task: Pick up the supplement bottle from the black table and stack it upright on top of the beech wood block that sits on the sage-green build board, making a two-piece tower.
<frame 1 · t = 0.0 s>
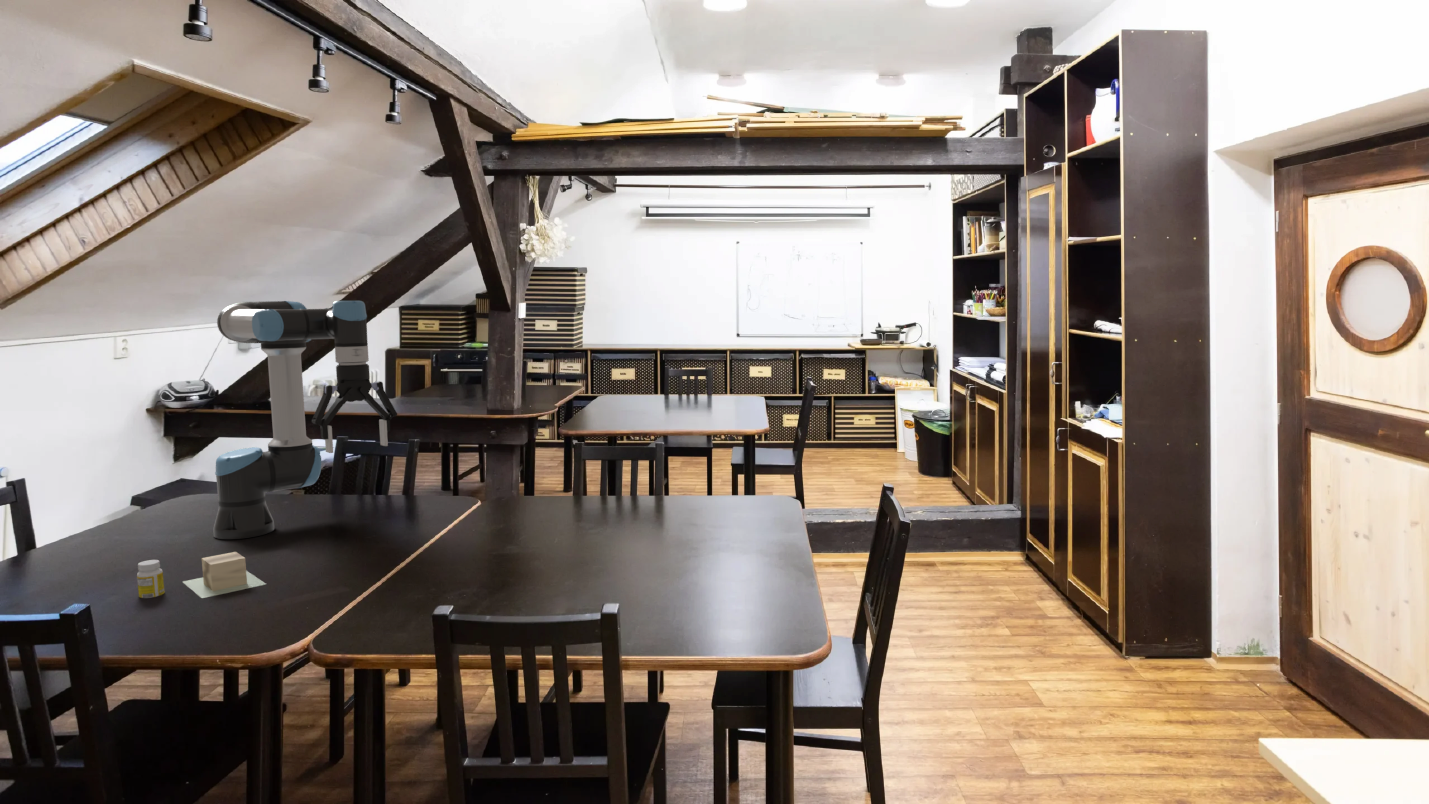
hand: (357, 448, 216), 28 cm above the table, fingers open, 13 cm apart
beech block: (225, 583, 197), point 1 cm above the table, touching build board
build board: (224, 587, 198), on the table
supplement bottle: (152, 600, 190), on the table
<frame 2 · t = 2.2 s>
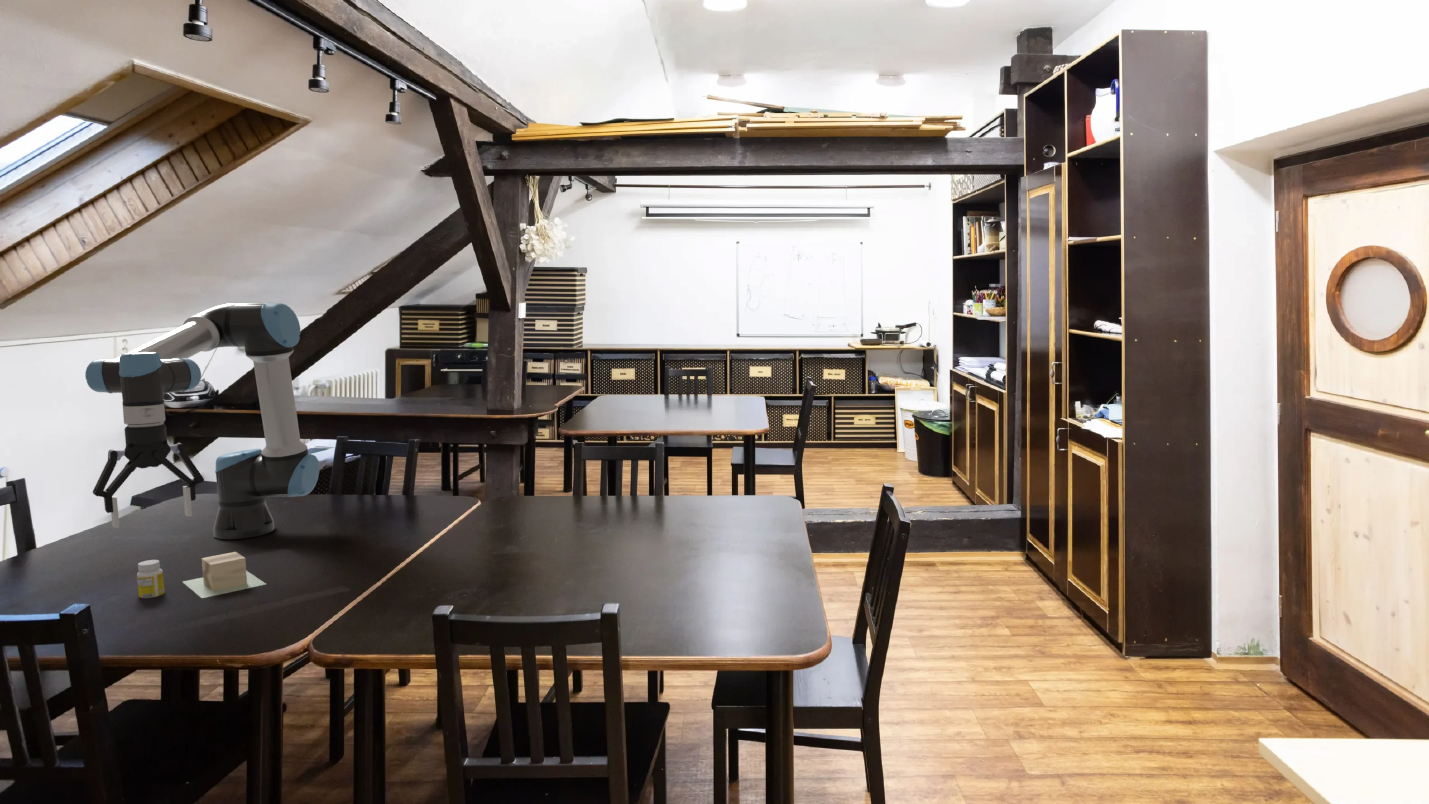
hand: (153, 521, 189), 17 cm above the table, fingers open, 13 cm apart
nothing on the table moved.
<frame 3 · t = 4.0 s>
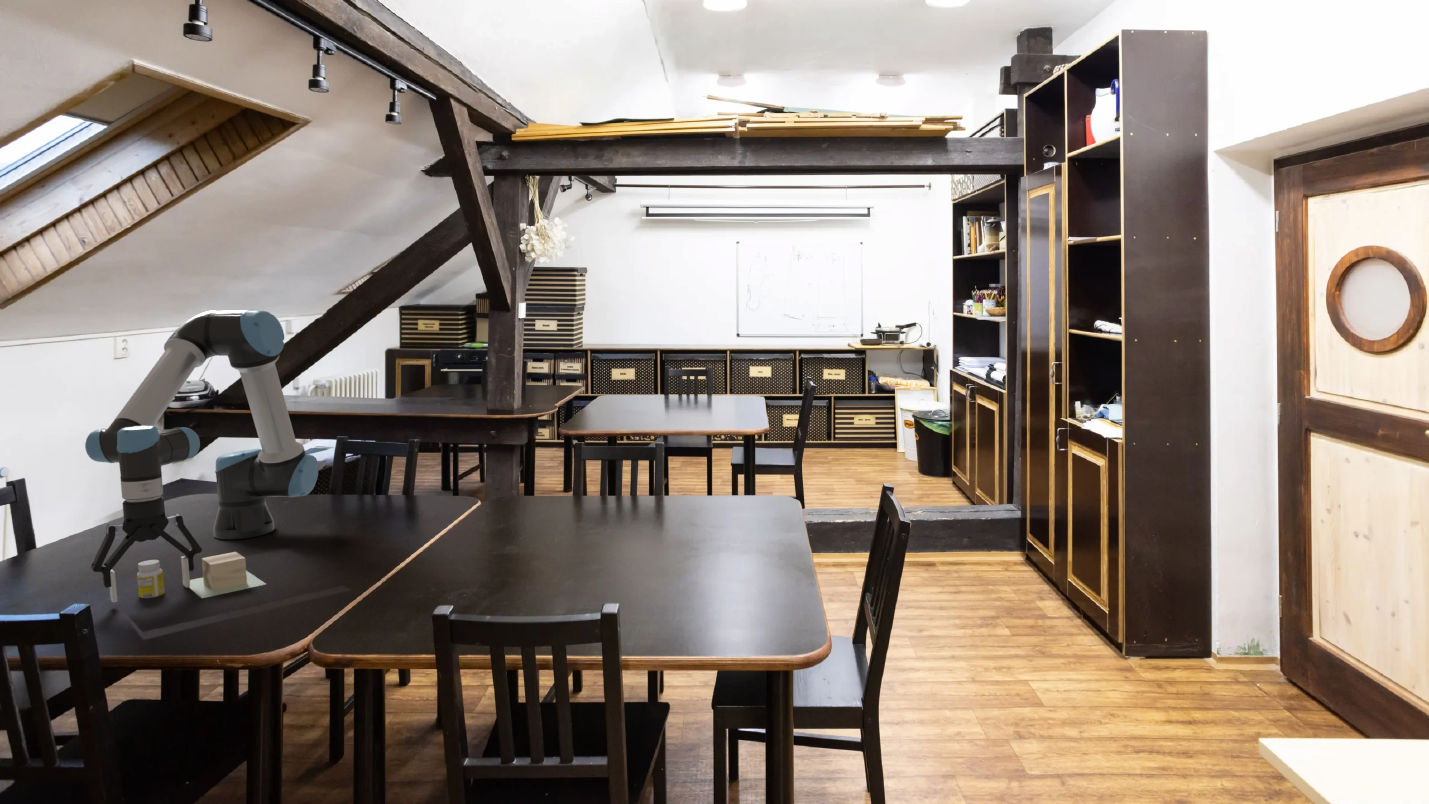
hand: (151, 593, 190), 1 cm above the table, fingers open, 13 cm apart
nothing on the table moved.
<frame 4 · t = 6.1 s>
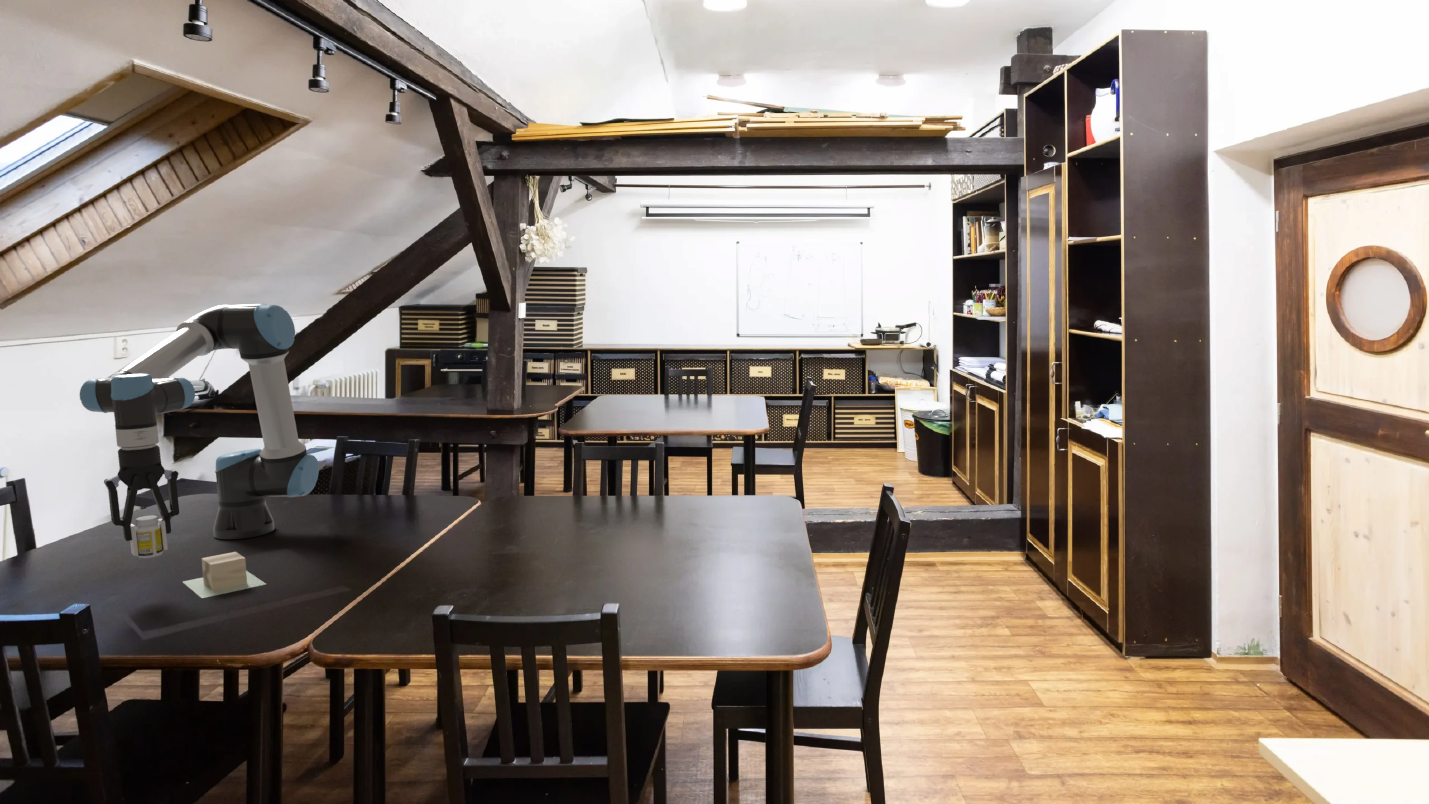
hand: (149, 551, 190), 11 cm above the table, fingers closed on supplement bottle, 5 cm apart
supplement bottle: (150, 556, 190), point 10 cm above the table, touching gripper
everything else where it was.
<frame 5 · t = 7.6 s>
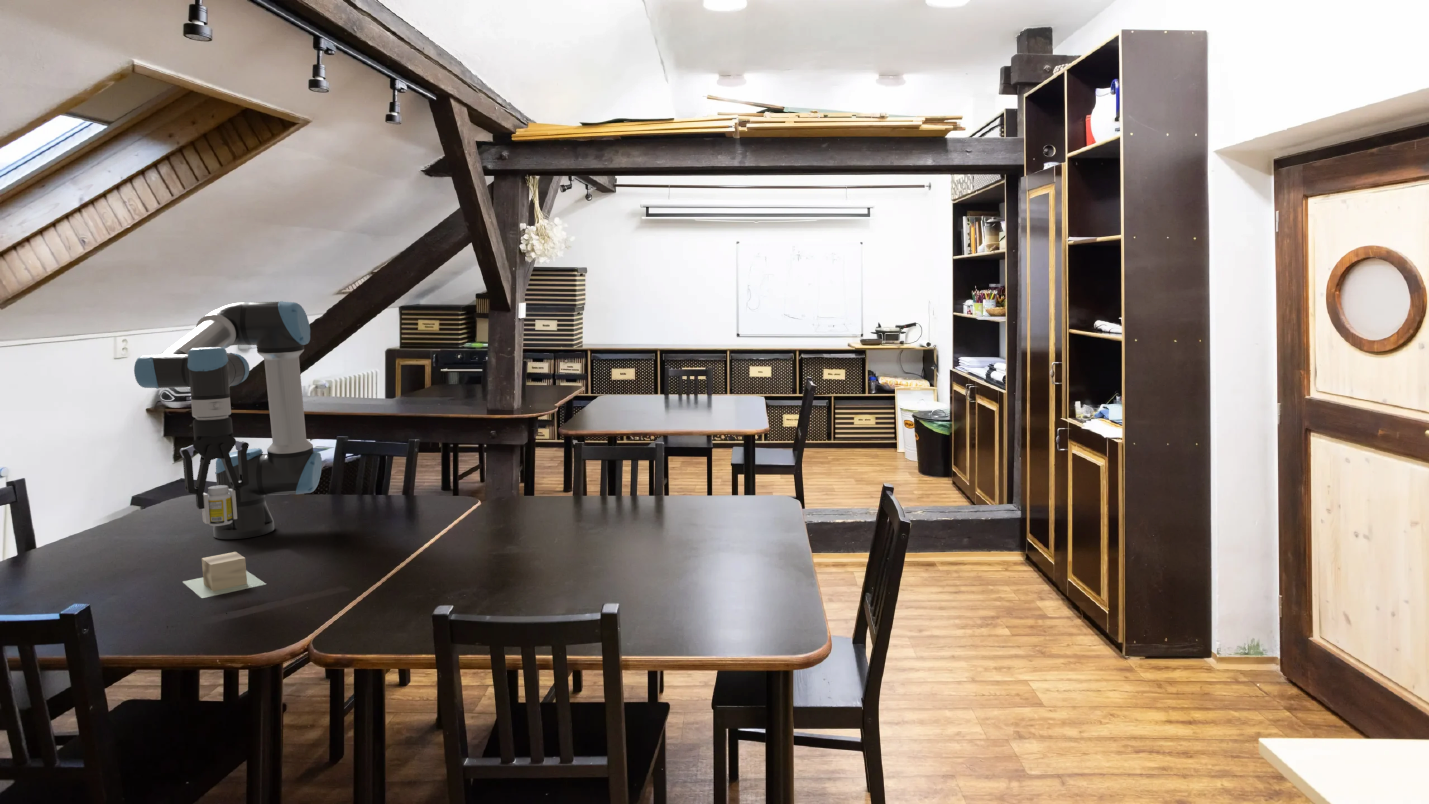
hand: (220, 520, 195), 16 cm above the table, fingers closed on supplement bottle, 5 cm apart
supplement bottle: (220, 524, 195), point 15 cm above the table, touching gripper
everything else where it was.
when the fingers open (8 cm above the table, at t = 9.5 s): supplement bottle stays where it is, resting on beech block.
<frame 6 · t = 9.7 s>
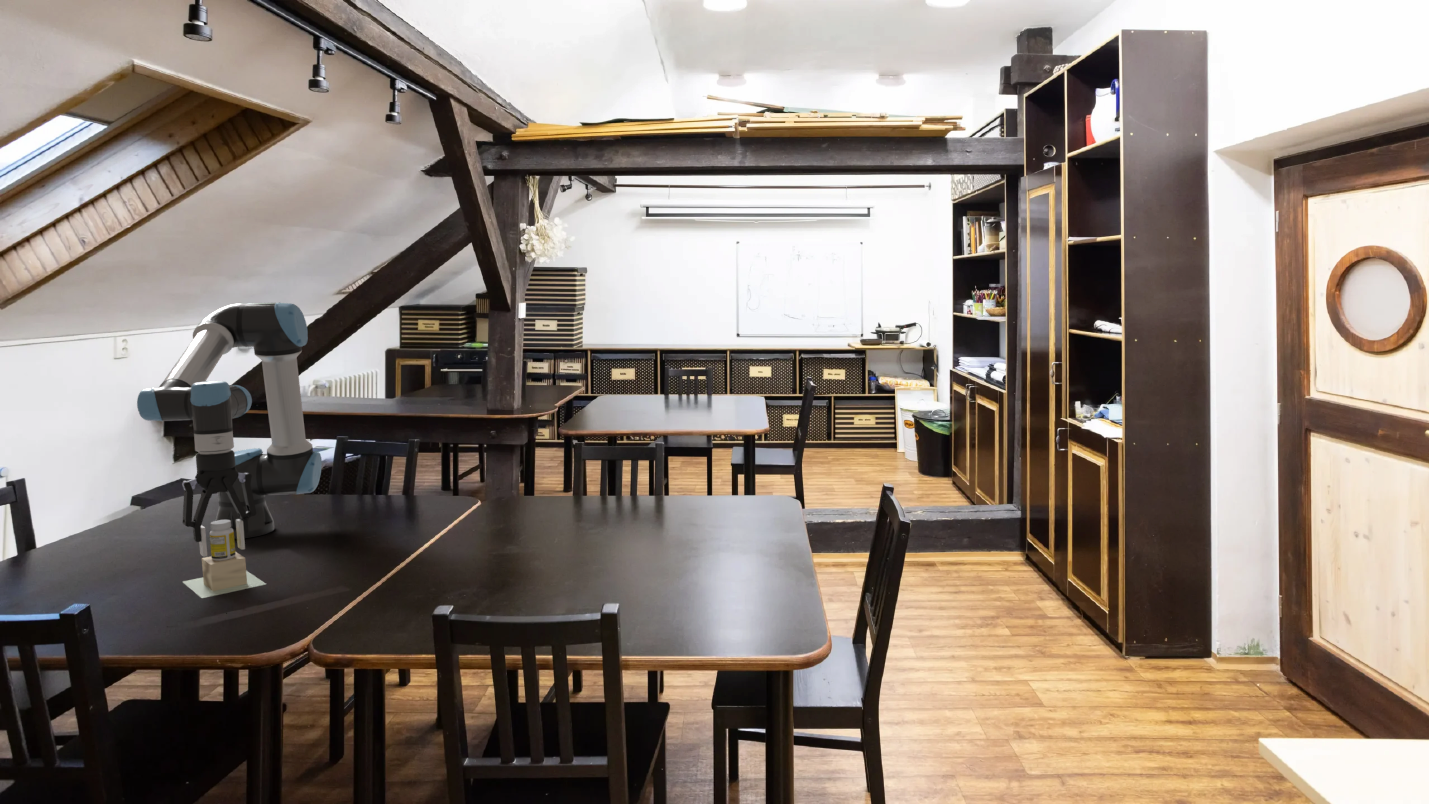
hand: (222, 551, 196), 9 cm above the table, fingers open, 7 cm apart
beech block: (225, 583, 197), point 1 cm above the table, touching supplement bottle, build board
supplement bottle: (223, 559, 196), point 7 cm above the table, touching beech block
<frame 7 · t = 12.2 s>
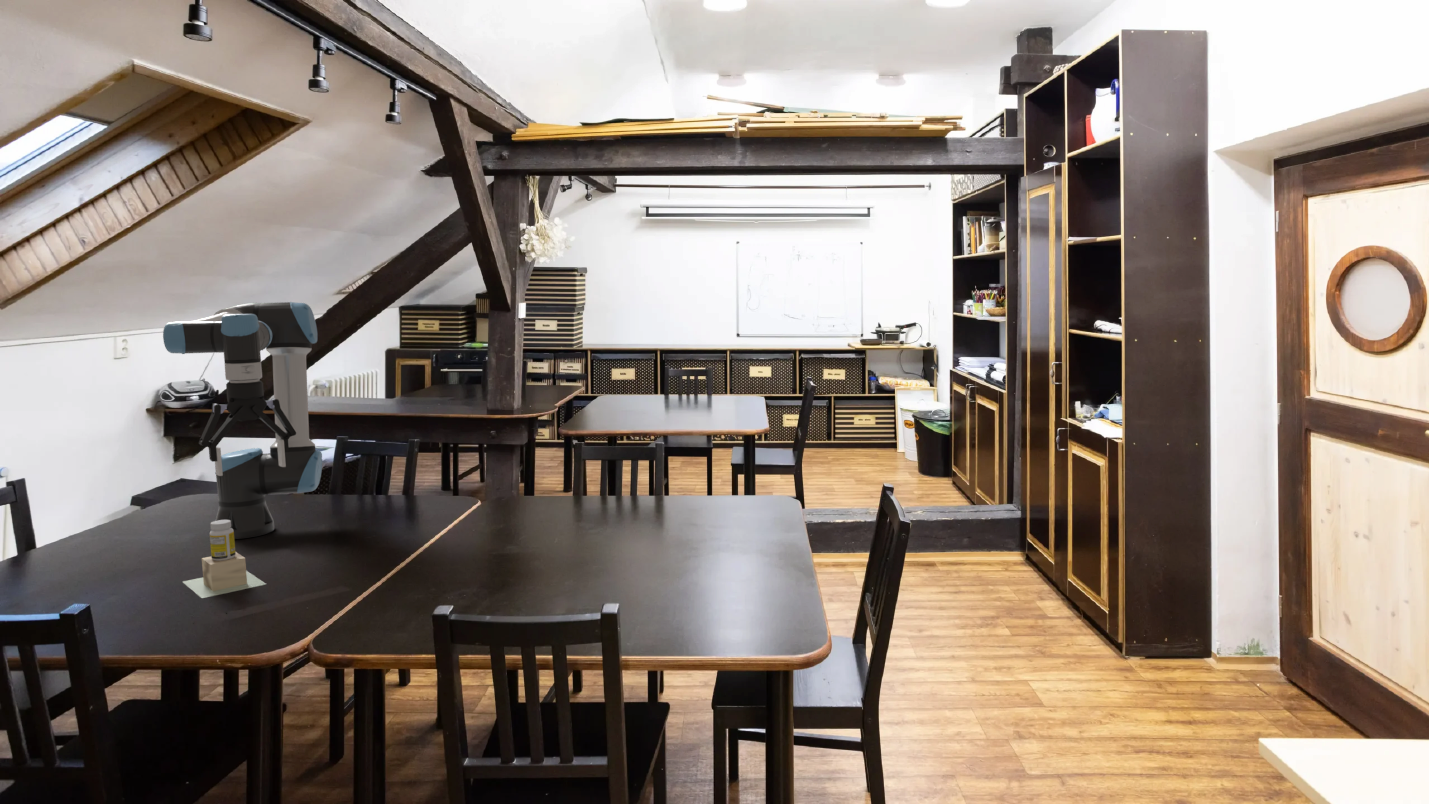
hand: (251, 470, 205), 25 cm above the table, fingers open, 13 cm apart
nothing on the table moved.
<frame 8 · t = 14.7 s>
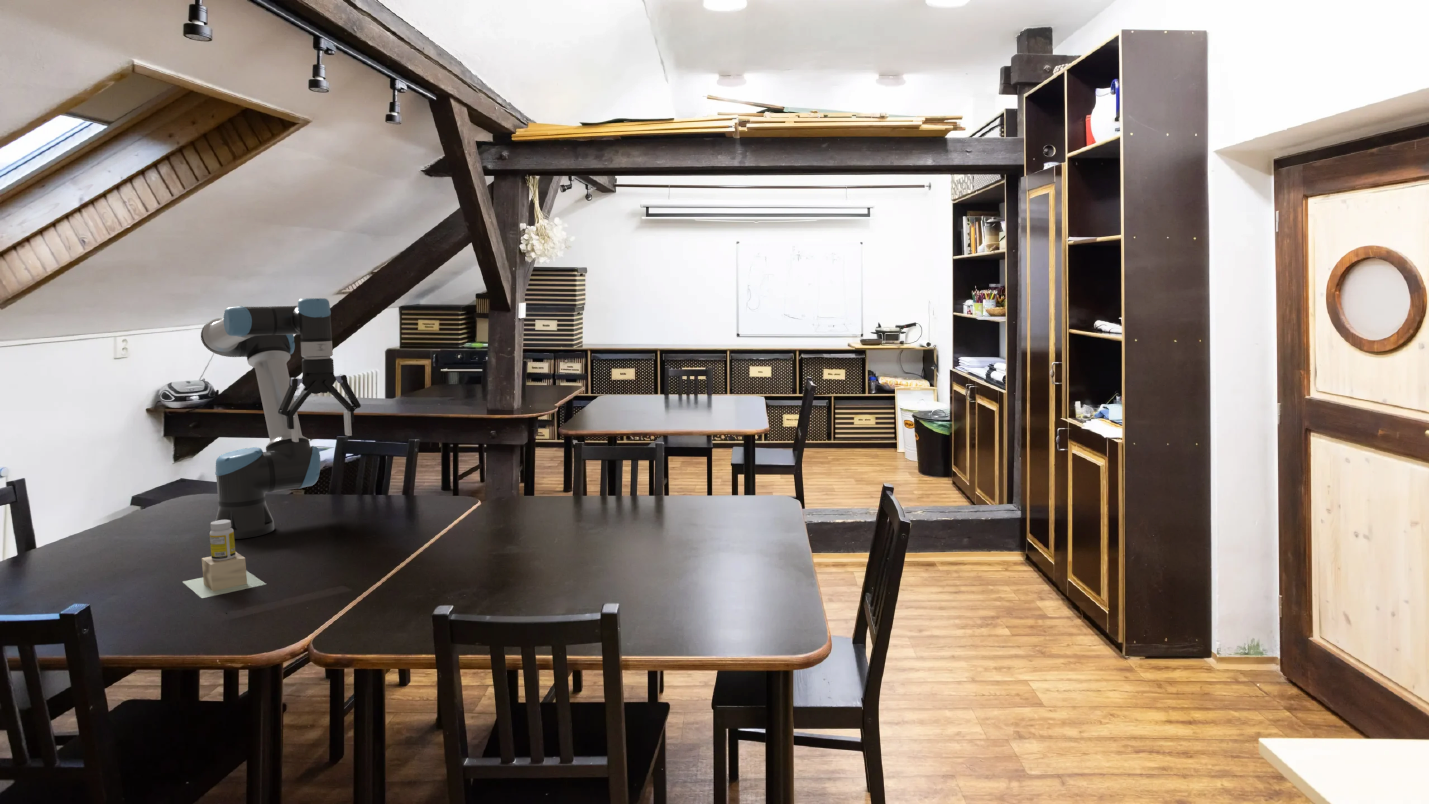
hand: (322, 438, 229), 29 cm above the table, fingers open, 13 cm apart
nothing on the table moved.
at the end: supplement bottle 0.1 cm off-centre on the beech block, point 5.8 cm above the beech block's base; supplement bottle tilted 0°; the gripper is holding nothing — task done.
